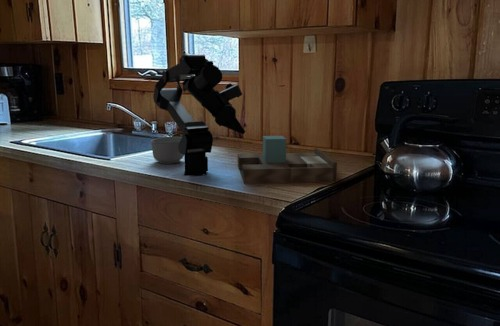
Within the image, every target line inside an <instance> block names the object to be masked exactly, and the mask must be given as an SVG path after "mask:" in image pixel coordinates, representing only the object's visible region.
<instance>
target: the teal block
mask: <svg viewBox="0 0 500 326" xmlns="http://www.w3.org/2000/svg"><path fill="white" fill-rule="evenodd" d="M286 153H287V138H286V137H284V136H283V135H262V154H263V160H264V161H265V163H285V162H286Z"/></svg>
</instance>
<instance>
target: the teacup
mask: <svg viewBox="0 0 500 326" xmlns="http://www.w3.org/2000/svg"><path fill="white" fill-rule="evenodd" d="M181 138H182V136H161V137H157V138H154V139H151V140H150V143H151V150H152V156H153V159H154V160H155V161H157V162H158V163H159V164H161V163H162V165H171V164H177V163H179V162H180V161H181V160H182V159H184V155H183V154H181V153H179V148H178V145H179V143H180V141H181Z"/></svg>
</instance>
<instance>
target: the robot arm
mask: <svg viewBox="0 0 500 326" xmlns="http://www.w3.org/2000/svg"><path fill="white" fill-rule="evenodd" d="M178 60H179V62H178V63H176V64H175V65H174V66H172V67H170V68H168V69H165V70H163V71H162V75H161V77H160V79H159V80H158V81H157V82H156V84H155V85H154V89H153V97H152V98H153V102H154V103H155V105H156V106H157V107H158V108H159V109H160V110H163V111H167V112H168V114H169V116H170V117H171V118H172V119H173V121H174V122H175V124H176V125H177V127H178V128H179V130H180V131H181V133H182V135H181V137H182V138H181V141H180V143H179V145H178V148H179V153H181V154H183V155H184V157H183V159H184V174H183V175H185V176H195V175H196V176H200V175H201V176H204V175H205V176H206V175H207V172H208V171H209V163H208V162H209V157H208V155H207V153H211V152H212V148H213V142H214V136H213V133H212V132H211V131H210V130H209V129H210V127H209V126H208V125H206V123H205V122H204V121H202V120H201V121H195V120H194V118H193V117H192V116H191V115H190V113H189V112H188V111H187V109H186V108H185V107H184V105H183V104H182V103H181V100H182V95H183V92H184V93H185V92H186V91H187V92H188V93H189V94H190V95H191V96H192V97H193V98H194V99H195V100H196V101H198V102H199V104H200V105H201V106H202V107H203V108H205V109H206V111H208V113H210V114H211V116H212V118H214V122H215V123H216V124H217V125H218V127H221V126H222V127H224V128H227V129H230V130H232V131H233V132H234V131H235V132H237V133H239V134H241V135H244V134H246V130H245V129H244V126H243V125H242V124H241V123H240V121H239V120H238V118H237V116H236V115H237V110H236V109H235V107H234V106H233V104H232V103H231V102H230V101H231V100H234V99H235V98H237V97H238V98H239V97H241V96H243V92H242V90H241V88H240V86H239V84H238V83H236V84H234V85H233V84H232V83H230V82H229V83H227V84H225V88H224V89H223V90H222V91H219V90H217V89H215V87H216V86H218V85H219V84H220V83H221V82H222V79H223V73H222V71H221V69H220V68H219V67H218V66H217V65H214V61H213V60H209V59H208V58H206V55H205V54H193V53H192V54H189V53H187V54H182V56H181V57H180V58H179V59H178ZM190 76H191V77H190ZM188 77H190V78H188ZM183 79H185V80H184V81H182V80H183ZM181 81H182V82H181ZM180 82H181V84H182V85H181V84H180ZM167 83H176V84H177V86H176V87H175V88H171V87H170V88H168V87H167V88H164V87H166V85H167ZM206 155H207V156H206Z"/></svg>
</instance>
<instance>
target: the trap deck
mask: <svg viewBox="0 0 500 326" xmlns="http://www.w3.org/2000/svg"><path fill="white" fill-rule="evenodd" d="M313 150H314V152H289V153H287V152H286V162H285V163H265V161H264V160H263V153H237V169H238V171H239V174H240V176H241V179H242V182H243V184H244V185H245V184H247V185H248V184H251V185H252V184H285V183H286V184H287V183H289V184H290V183H291V184H292V183H293V184H294V183H324V182H325V183H326V182H327V183H328V182H337V169H338V162H337V161H336V160H335V159H333V158H332V157H331V156H329V155H328V154H326V153H325V152H323V151H322V150H321V149H320V148H318V147H315V148H314V149H313Z"/></svg>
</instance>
